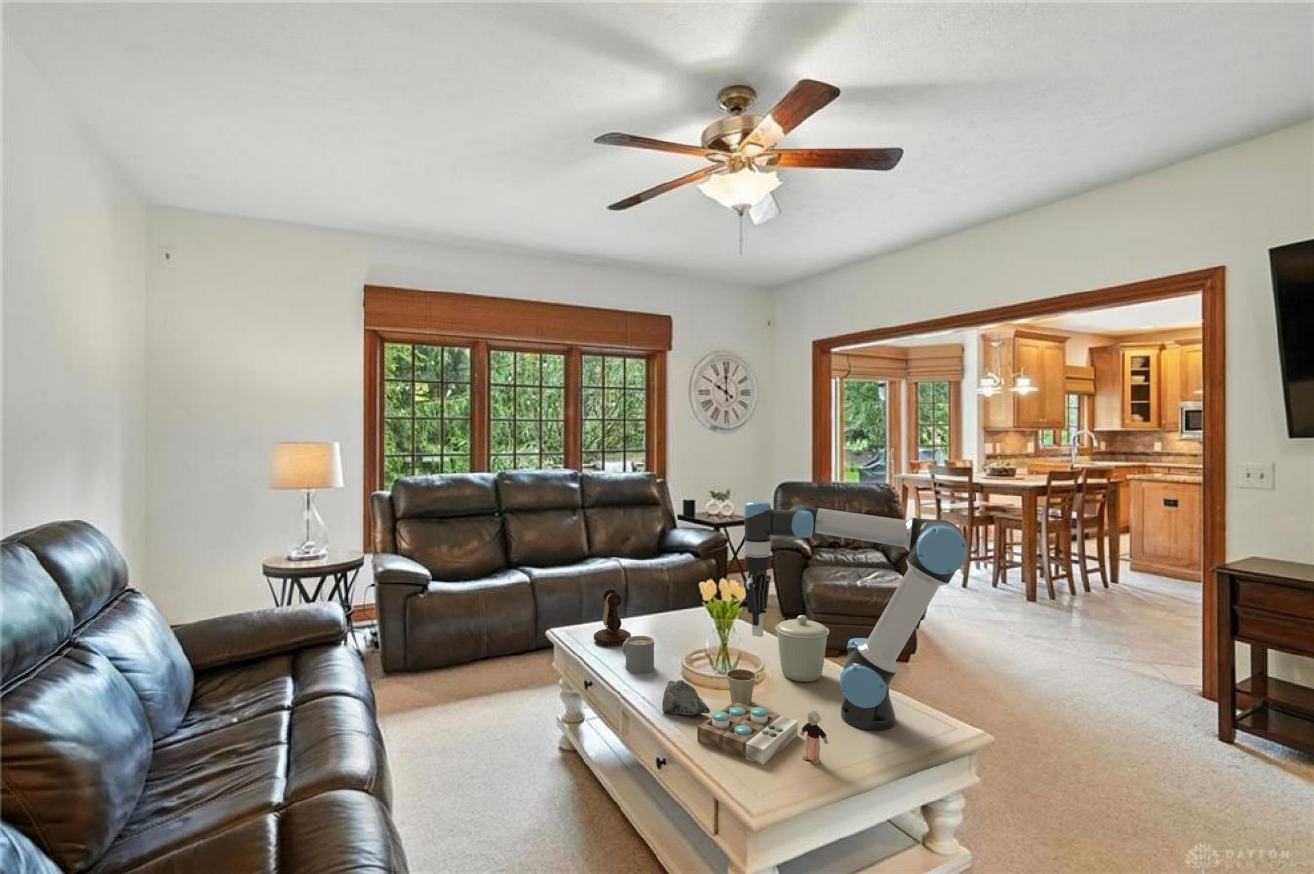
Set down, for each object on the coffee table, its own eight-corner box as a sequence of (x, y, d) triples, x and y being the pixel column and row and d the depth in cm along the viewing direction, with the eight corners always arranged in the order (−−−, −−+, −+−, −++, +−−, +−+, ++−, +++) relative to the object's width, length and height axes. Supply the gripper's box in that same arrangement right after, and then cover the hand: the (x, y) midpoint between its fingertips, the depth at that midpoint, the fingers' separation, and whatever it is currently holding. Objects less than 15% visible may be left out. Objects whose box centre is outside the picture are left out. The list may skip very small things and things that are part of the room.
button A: (770, 724, 178) (770, 710, 178) (762, 730, 174) (762, 716, 174) (755, 719, 181) (755, 705, 181) (747, 725, 177) (747, 711, 177)
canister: (811, 664, 230) (812, 606, 229) (839, 684, 212) (839, 621, 212) (766, 669, 225) (766, 610, 225) (790, 689, 207) (790, 625, 207)
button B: (754, 743, 171) (754, 728, 171) (746, 750, 167) (746, 734, 167) (739, 738, 174) (739, 723, 174) (731, 744, 170) (731, 729, 170)
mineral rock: (712, 718, 186) (712, 684, 186) (682, 727, 181) (682, 692, 180) (686, 702, 197) (687, 670, 197) (657, 710, 191) (657, 677, 191)
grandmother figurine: (796, 759, 163) (796, 710, 163) (801, 753, 167) (801, 704, 167) (826, 767, 159) (826, 717, 159) (830, 761, 163) (830, 711, 163)
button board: (797, 735, 176) (797, 720, 176) (763, 765, 161) (763, 748, 160) (734, 715, 189) (734, 701, 189) (697, 741, 173) (697, 725, 173)
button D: (732, 729, 175) (732, 714, 175) (723, 735, 171) (723, 720, 171) (718, 724, 178) (718, 710, 178) (709, 730, 174) (709, 716, 174)
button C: (748, 723, 182) (748, 709, 182) (740, 729, 179) (740, 715, 178) (734, 719, 185) (734, 705, 185) (726, 724, 181) (726, 710, 181)
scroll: (590, 637, 259) (590, 588, 258) (625, 633, 263) (625, 585, 263) (598, 649, 244) (598, 597, 244) (635, 645, 249) (635, 594, 249)
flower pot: (755, 710, 192) (756, 681, 192) (724, 707, 194) (724, 679, 194) (757, 697, 201) (757, 670, 201) (727, 694, 203) (727, 667, 203)
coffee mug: (659, 669, 224) (659, 641, 224) (635, 675, 218) (635, 646, 218) (638, 658, 235) (639, 631, 235) (615, 663, 229) (615, 636, 229)
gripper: (756, 550, 193) (756, 627, 193) (735, 557, 183) (735, 639, 183) (779, 552, 189) (779, 632, 189) (758, 560, 178) (758, 644, 178)
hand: (757, 635), depth 186 cm, fingers closed
